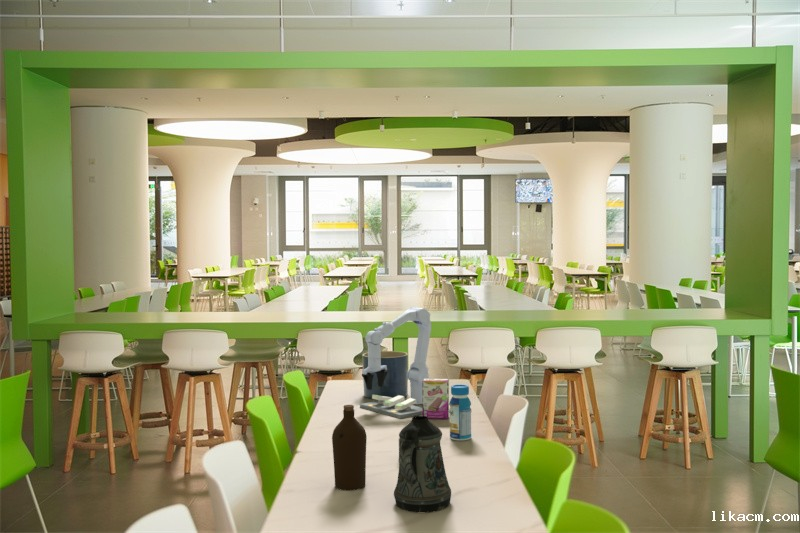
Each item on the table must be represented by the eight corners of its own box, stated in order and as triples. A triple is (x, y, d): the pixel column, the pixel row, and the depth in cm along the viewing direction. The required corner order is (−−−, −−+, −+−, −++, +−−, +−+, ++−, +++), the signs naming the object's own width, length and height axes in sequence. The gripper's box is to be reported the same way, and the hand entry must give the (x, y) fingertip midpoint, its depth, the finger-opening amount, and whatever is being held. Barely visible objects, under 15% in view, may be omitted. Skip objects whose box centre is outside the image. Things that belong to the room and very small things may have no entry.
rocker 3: (411, 401, 345) (410, 397, 345) (416, 402, 342) (416, 398, 342) (395, 408, 340) (394, 405, 340) (401, 410, 337) (400, 406, 337)
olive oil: (368, 490, 237) (366, 408, 236) (333, 492, 236) (331, 410, 235) (366, 479, 248) (364, 401, 247) (332, 481, 247) (331, 402, 246)
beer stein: (448, 493, 233) (447, 410, 233) (455, 516, 214) (454, 425, 213) (393, 494, 233) (391, 411, 232) (395, 517, 214) (393, 427, 213)
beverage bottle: (470, 441, 292) (469, 388, 291) (448, 440, 294) (447, 387, 293) (473, 435, 300) (472, 384, 300) (451, 435, 302) (450, 383, 301)
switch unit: (388, 402, 365) (388, 396, 365) (429, 412, 341) (429, 406, 341) (360, 407, 355) (360, 401, 355) (400, 418, 331) (400, 412, 331)
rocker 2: (399, 398, 352) (398, 394, 352) (404, 399, 349) (404, 396, 349) (383, 405, 347) (383, 402, 347) (389, 407, 344) (388, 403, 343)
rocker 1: (387, 400, 359) (388, 396, 359) (392, 401, 356) (393, 397, 356) (371, 398, 353) (372, 394, 353) (377, 399, 350) (377, 395, 350)
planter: (356, 398, 374) (355, 357, 373) (371, 390, 395) (370, 350, 394) (401, 401, 367) (400, 358, 367) (413, 391, 389) (413, 351, 388)
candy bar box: (422, 419, 329) (421, 380, 329) (423, 416, 334) (422, 378, 334) (449, 419, 328) (448, 380, 328) (449, 416, 333) (448, 378, 333)
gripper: (378, 355, 358) (378, 384, 359) (356, 359, 347) (357, 389, 348) (390, 356, 354) (390, 386, 354) (368, 360, 343) (369, 391, 343)
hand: (375, 388), depth 351 cm, fingers open, 7 cm apart
